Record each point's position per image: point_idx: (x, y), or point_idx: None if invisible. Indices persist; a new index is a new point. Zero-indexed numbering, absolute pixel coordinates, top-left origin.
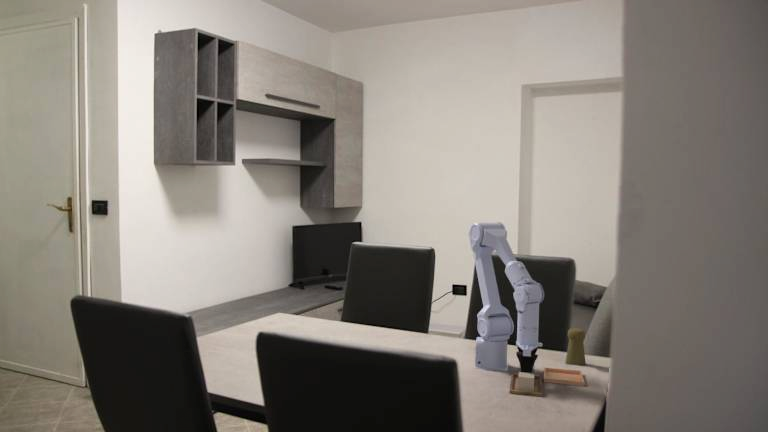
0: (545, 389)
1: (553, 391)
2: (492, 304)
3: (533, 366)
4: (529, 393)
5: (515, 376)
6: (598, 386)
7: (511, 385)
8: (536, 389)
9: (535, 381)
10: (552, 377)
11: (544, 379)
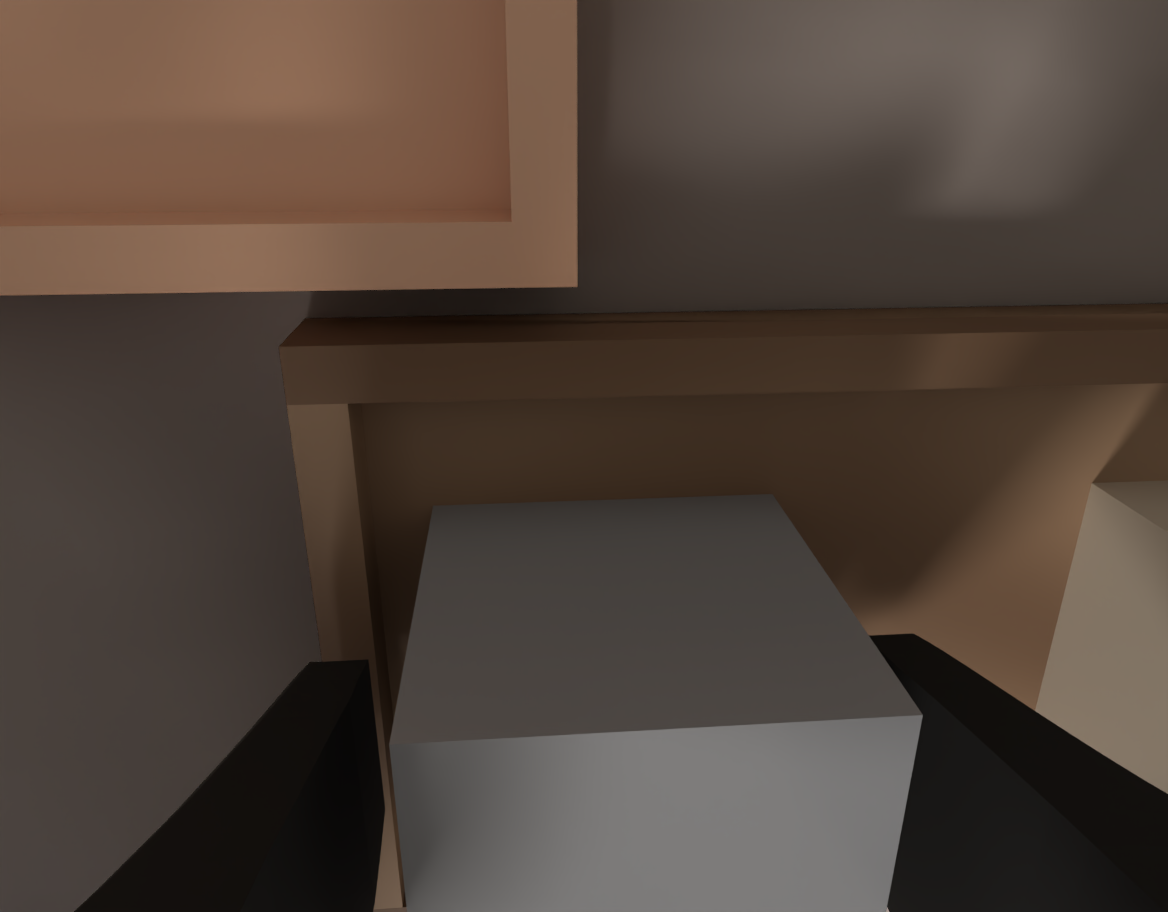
0: (978, 223)
1: (1099, 25)
2: None
3: (606, 755)
4: None
5: None
6: None
7: None
8: (1162, 429)
9: (611, 465)
10: (43, 6)
11: (574, 267)
